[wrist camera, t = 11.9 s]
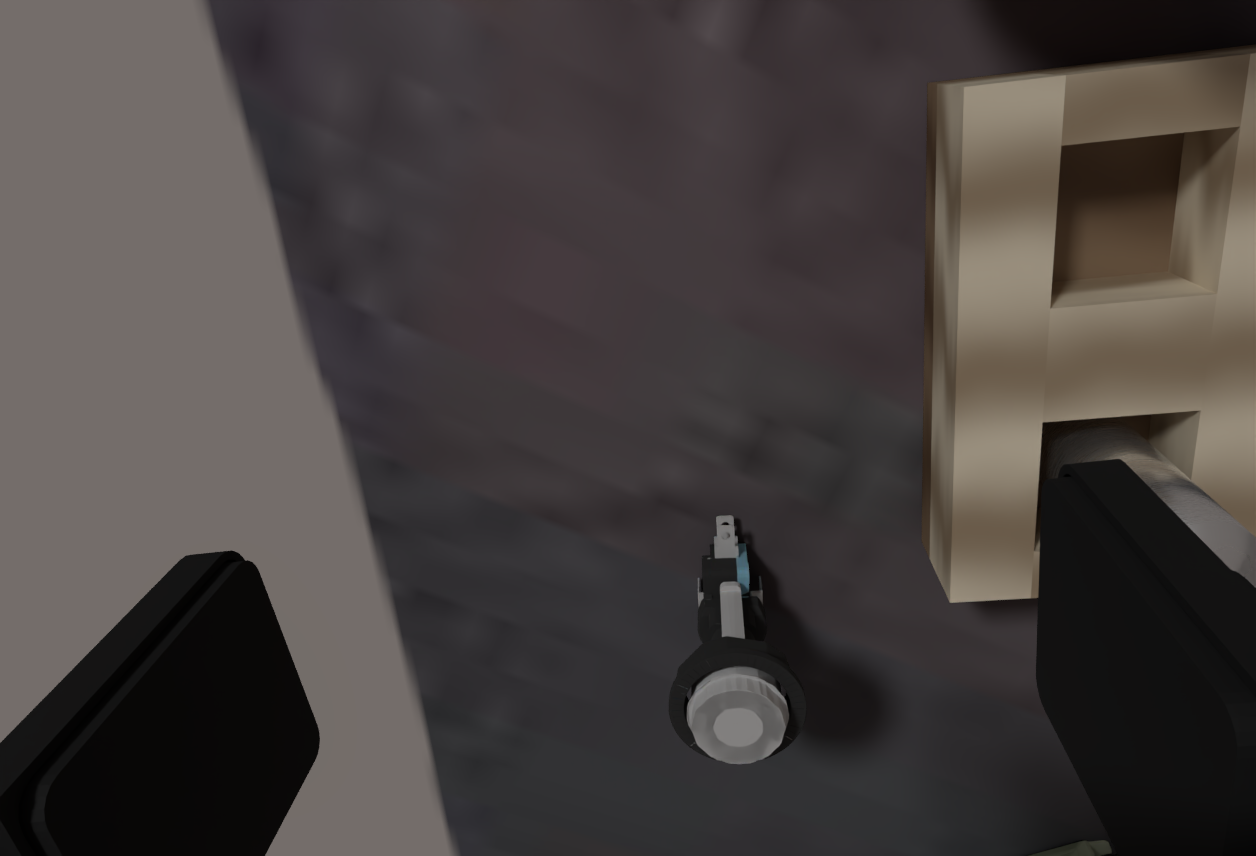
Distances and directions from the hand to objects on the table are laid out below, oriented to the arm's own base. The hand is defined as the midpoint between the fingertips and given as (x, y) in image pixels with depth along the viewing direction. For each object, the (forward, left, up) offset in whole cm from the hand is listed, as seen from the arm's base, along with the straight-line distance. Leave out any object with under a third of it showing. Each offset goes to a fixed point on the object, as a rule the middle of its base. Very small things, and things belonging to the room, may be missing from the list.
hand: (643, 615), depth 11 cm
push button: (+17, +1, -28) cm, 33 cm away
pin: (+11, +16, -27) cm, 33 cm away
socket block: (+6, +16, -28) cm, 33 cm away
